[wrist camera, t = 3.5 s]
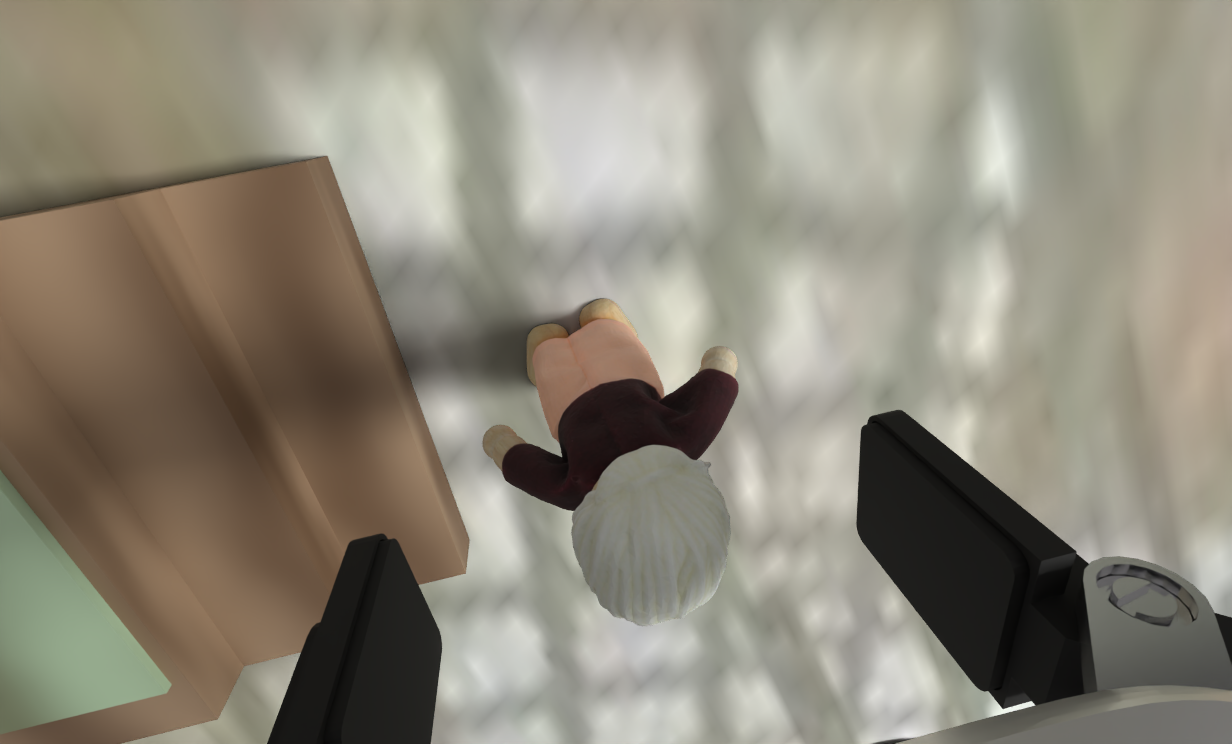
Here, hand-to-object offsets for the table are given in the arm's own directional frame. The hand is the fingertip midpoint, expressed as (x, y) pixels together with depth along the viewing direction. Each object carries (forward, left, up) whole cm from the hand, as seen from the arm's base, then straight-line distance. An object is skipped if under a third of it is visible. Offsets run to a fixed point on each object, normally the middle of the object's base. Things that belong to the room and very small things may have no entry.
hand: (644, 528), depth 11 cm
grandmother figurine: (0, +1, -12) cm, 12 cm away
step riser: (+15, +1, -11) cm, 19 cm away
